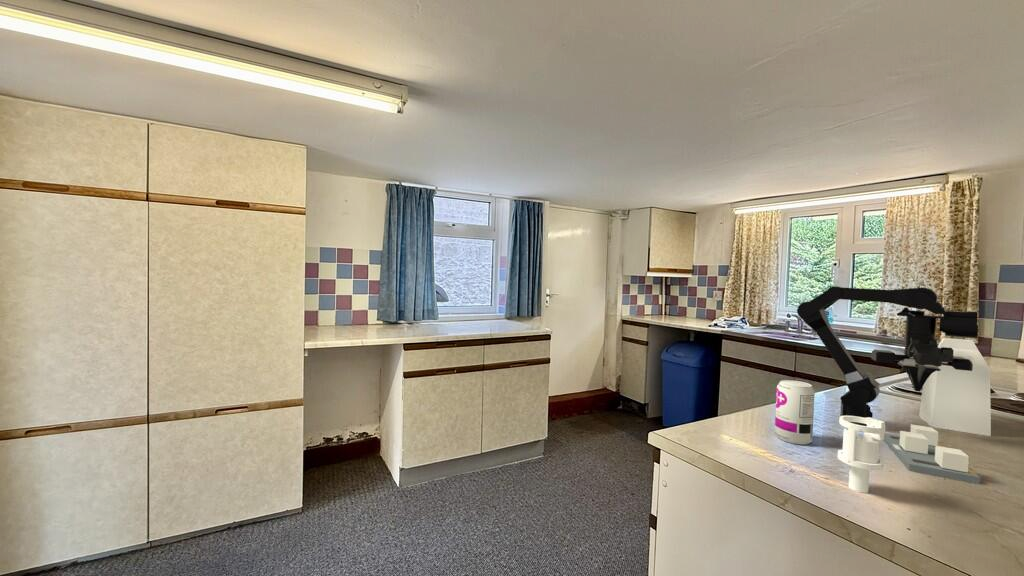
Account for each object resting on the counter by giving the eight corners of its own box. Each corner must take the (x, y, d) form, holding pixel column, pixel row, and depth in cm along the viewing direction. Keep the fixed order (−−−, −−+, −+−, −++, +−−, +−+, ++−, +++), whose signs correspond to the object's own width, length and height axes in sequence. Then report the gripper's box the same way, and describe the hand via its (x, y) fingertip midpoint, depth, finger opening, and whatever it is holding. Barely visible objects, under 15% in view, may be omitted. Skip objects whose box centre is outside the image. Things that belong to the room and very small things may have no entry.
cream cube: (915, 442, 103) (916, 429, 103) (910, 437, 107) (910, 424, 107) (937, 446, 101) (938, 432, 101) (931, 440, 105) (931, 427, 105)
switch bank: (909, 470, 91) (909, 463, 91) (880, 437, 111) (881, 432, 110) (979, 484, 86) (979, 476, 86) (937, 447, 105) (937, 441, 105)
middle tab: (904, 450, 98) (905, 436, 98) (899, 444, 102) (900, 430, 102) (927, 454, 96) (928, 439, 96) (921, 448, 100) (922, 434, 100)
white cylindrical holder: (869, 501, 78) (873, 424, 78) (828, 483, 85) (832, 412, 84) (889, 494, 81) (893, 419, 80) (848, 477, 87) (851, 408, 87)
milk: (973, 424, 124) (978, 339, 123) (990, 436, 114) (996, 343, 113) (919, 415, 130) (923, 335, 129) (931, 426, 120) (936, 339, 120)
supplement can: (778, 442, 106) (781, 385, 105) (771, 431, 113) (774, 378, 113) (816, 448, 103) (819, 389, 102) (806, 436, 110) (809, 381, 110)
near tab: (941, 467, 90) (942, 452, 89) (934, 460, 93) (935, 445, 93) (967, 472, 88) (968, 456, 87) (959, 465, 91) (960, 449, 91)
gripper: (883, 334, 108) (880, 392, 108) (985, 341, 98) (981, 405, 99) (872, 329, 117) (869, 383, 118) (963, 335, 108) (960, 394, 108)
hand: (917, 391), depth 110 cm, fingers closed
